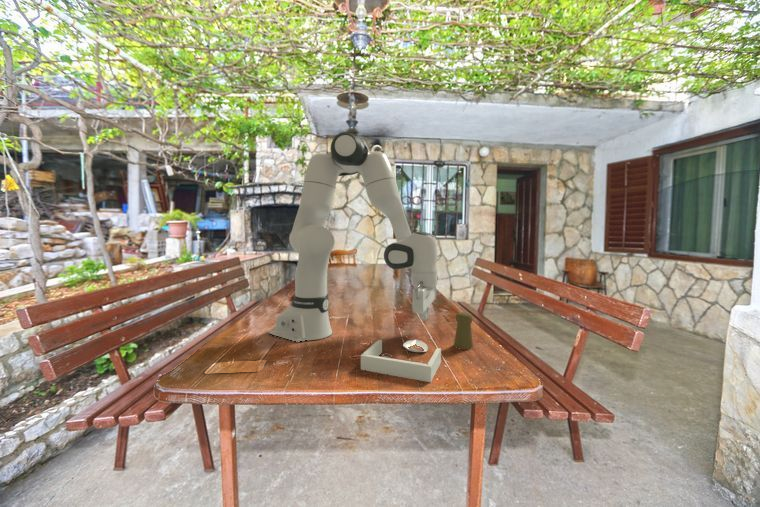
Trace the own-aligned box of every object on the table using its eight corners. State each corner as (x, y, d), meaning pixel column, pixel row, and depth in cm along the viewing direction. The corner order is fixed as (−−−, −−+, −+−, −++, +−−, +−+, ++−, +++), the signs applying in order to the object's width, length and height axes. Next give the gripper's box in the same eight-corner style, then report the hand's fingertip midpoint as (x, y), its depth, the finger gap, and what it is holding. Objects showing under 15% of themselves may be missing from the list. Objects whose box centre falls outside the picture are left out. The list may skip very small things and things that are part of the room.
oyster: (400, 354, 97) (401, 346, 97) (404, 343, 109) (404, 335, 109) (427, 358, 96) (427, 349, 96) (428, 346, 108) (428, 338, 108)
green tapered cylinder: (473, 350, 101) (474, 316, 100) (454, 349, 102) (454, 314, 101) (472, 343, 107) (473, 310, 106) (453, 342, 108) (454, 309, 107)
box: (360, 369, 88) (360, 355, 87) (378, 352, 100) (378, 339, 99) (430, 382, 81) (431, 366, 80) (440, 362, 93) (441, 348, 92)
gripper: (426, 285, 100) (427, 329, 101) (438, 274, 119) (438, 311, 120) (407, 284, 102) (407, 327, 103) (421, 274, 121) (422, 310, 122)
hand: (424, 319), depth 112 cm, fingers closed
